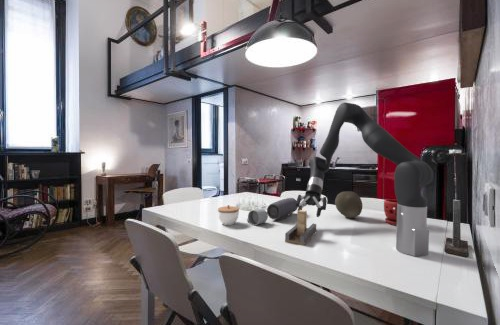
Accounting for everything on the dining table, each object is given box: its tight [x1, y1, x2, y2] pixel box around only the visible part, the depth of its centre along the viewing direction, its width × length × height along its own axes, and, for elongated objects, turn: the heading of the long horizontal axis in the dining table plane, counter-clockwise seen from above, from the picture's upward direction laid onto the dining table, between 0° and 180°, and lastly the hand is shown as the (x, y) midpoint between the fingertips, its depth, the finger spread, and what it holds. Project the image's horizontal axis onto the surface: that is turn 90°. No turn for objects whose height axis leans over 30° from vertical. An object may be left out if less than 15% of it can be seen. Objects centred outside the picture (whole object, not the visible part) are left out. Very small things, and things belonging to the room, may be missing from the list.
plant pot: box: [383, 199, 397, 227], centre depth 127 cm, size 13×13×12 cm
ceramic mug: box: [246, 208, 269, 226], centre depth 127 cm, size 11×8×8 cm
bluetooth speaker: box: [266, 197, 299, 220], centre depth 140 cm, size 23×9×10 cm, turn 145°
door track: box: [284, 223, 318, 246], centre depth 107 cm, size 20×8×4 cm, turn 152°
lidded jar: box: [217, 205, 240, 226], centre depth 126 cm, size 11×11×9 cm
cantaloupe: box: [334, 190, 363, 219], centre depth 139 cm, size 14×14×15 cm
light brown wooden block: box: [296, 209, 308, 235], centre depth 107 cm, size 4×3×10 cm
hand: (308, 215), depth 116 cm, fingers open, 8 cm apart
